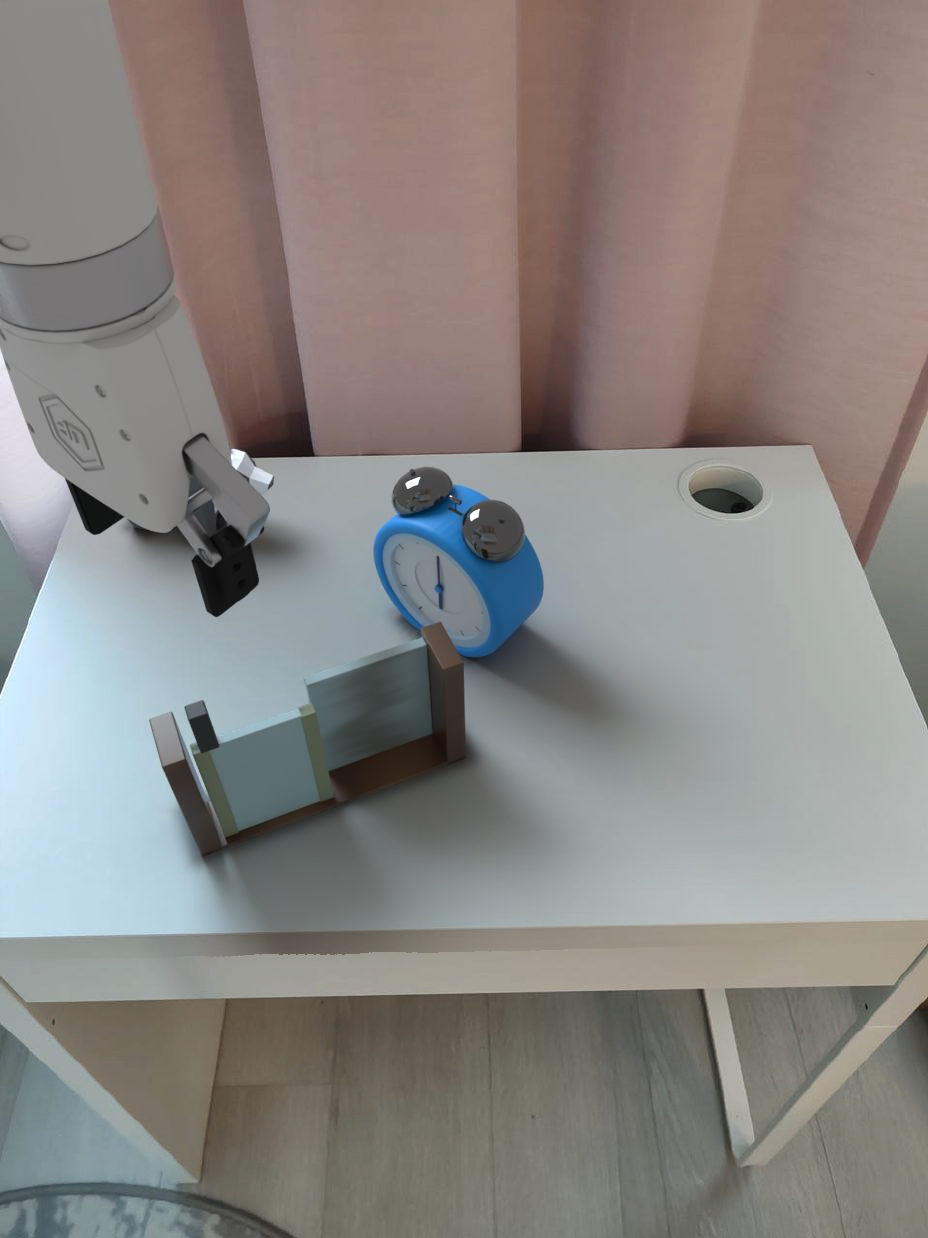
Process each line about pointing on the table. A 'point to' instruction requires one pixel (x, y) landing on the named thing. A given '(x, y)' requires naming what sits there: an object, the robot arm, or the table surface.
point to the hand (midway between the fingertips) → (171, 557)
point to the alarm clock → (457, 562)
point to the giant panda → (247, 470)
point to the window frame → (351, 731)
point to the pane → (260, 766)
